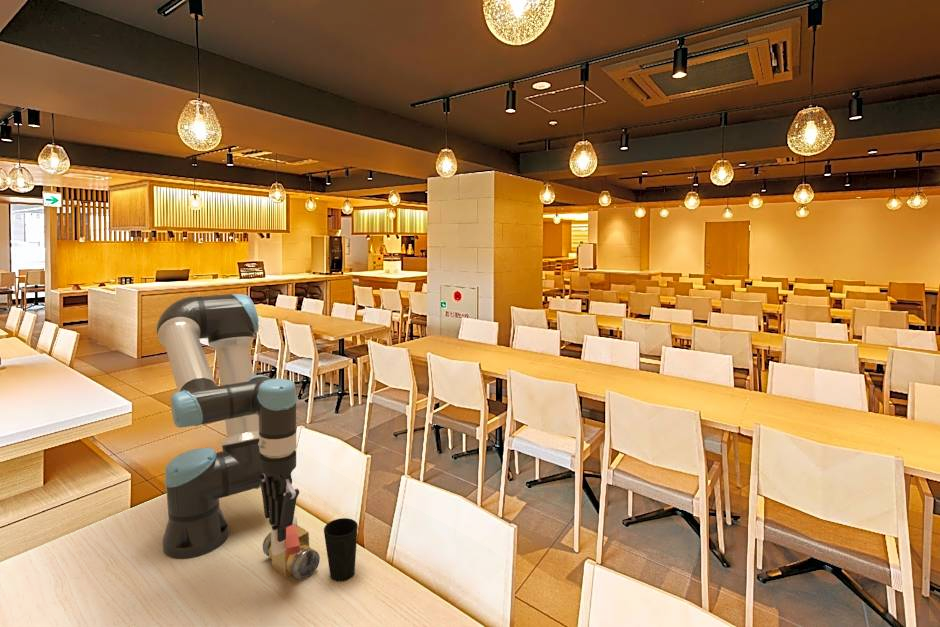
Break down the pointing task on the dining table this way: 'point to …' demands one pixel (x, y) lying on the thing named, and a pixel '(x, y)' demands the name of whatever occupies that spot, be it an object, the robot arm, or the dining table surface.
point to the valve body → (294, 557)
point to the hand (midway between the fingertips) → (278, 551)
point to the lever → (292, 539)
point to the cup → (341, 548)
